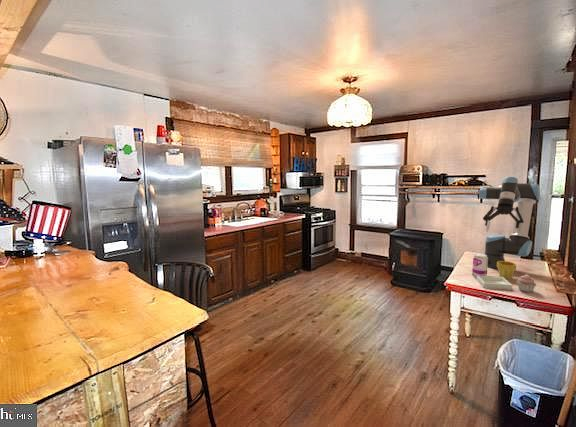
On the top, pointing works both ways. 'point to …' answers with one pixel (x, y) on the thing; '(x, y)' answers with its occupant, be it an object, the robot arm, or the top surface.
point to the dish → (494, 282)
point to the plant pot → (506, 269)
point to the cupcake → (526, 283)
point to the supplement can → (480, 265)
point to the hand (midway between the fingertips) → (500, 231)
